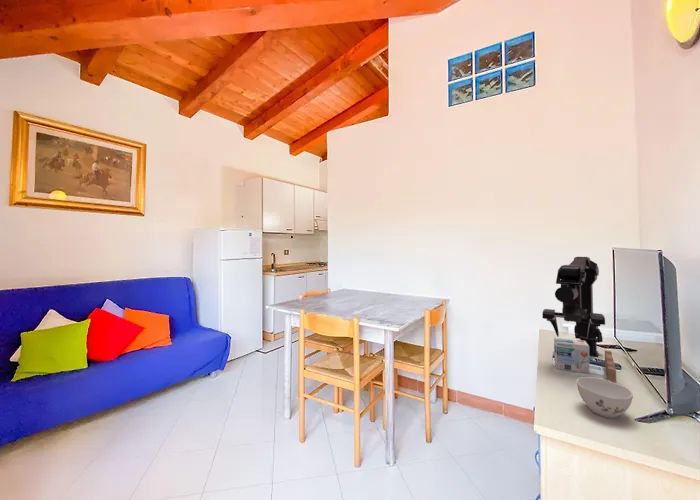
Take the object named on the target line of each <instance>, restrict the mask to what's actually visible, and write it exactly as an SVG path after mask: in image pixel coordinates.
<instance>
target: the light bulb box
mask: <svg viewBox="0 0 700 500" xmlns="http://www.w3.org/2000/svg"><path fill="white" fill-rule="evenodd" d="M553 350H554V351H553V353H554V355H553V357H554V358H553V360H554V361H555V363H554V364H555V368H556V369H557V370H558V369H559V370H563V371H571V372H578V373H583V374H590V355H589V345H588V344H587V343H586V341H583V340H580V339H579V340H578V339H570V338H559V337H554V338H553ZM554 361H553V362H554Z"/></svg>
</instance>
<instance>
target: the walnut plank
mask: <svg viewBox="0 0 700 500" xmlns="http://www.w3.org/2000/svg"><path fill="white" fill-rule="evenodd" d="M614 361H615V360H614V356H613V353H612V351H609V350H604V367H605V373H606V380H609V381H611V382H613V383H617V369H616V365H615V362H614Z"/></svg>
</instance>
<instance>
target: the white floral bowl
mask: <svg viewBox="0 0 700 500" xmlns="http://www.w3.org/2000/svg"><path fill="white" fill-rule="evenodd" d="M576 386H577V390H578V394H579V395H580V396H579V397H580V398H581V399H582V401H583V402H584V403H585V405H586V406H587V407H588V408H589V409H590V410H591V412H593V413H594V414H596V415H598V416H601V417H603V418H604V417H605V418H608V419H609V418H610V419H615V418H617V417H619V416H621V415H623V414H624V413H626V412H627V411H628V409H629V408H630V406H631V405H632V404H631V403H632V402H633V398H634V393H633V392H632V390H631V389H629V388H628V387H627V386H625V385H622V384H620V383H617V382H616V383H613V382H611V381H609V380H607V379H605V378H601V377H593V376H592V377H591V376H581V377H578V378H577V379H576Z"/></svg>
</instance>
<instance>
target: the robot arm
mask: <svg viewBox="0 0 700 500" xmlns="http://www.w3.org/2000/svg"><path fill="white" fill-rule="evenodd" d="M599 273H600V269H599V266H598V264H597V263H596V262H594V261H593V260H591V259H590V257H588V256H576V257H574V258H573V260H572V261H570V263H569V264H563V265H561V266H560V267H559V268H558V269H557V276H556V280H555V281H556V282H555V284H556V285H560V287H558V288H556V289H555V291H554V296H555V299H556V300H558V302H560V303H562V308H561V309H562V310H561V311H562V312H557V311H556V309H551V308H544V309H543V311H542V313H541V314H542V315H541V316H542V319H545V320H546V321H547V322H549V323H551V325H552V327H553V329H554V331H555V332H554V333H555V334H556V336H557V337H556V338H559V335H560V334H559V326H558V320H557V318H562V319H563V321H565V322H575V325H574V328H573V329H574V338H575V340H578V339H579V340H583V341H586V343H587V344H588V345H589V356H591V357H599V351H598V347H597V346H598V345H597V344H600V343H603V342H604V341H603V333H602V332H601V329H600V328H599V327H601V325H602V326H605V325H606V317H605V315H604V314H603V313H597V312H596V313H594V301H593V300H594V297H593V295H594V293H593V292H594V290H593V288H594V286H593V285H594V283H595V282H596V281H597V280H598V277H599V276H600V274H599Z"/></svg>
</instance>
